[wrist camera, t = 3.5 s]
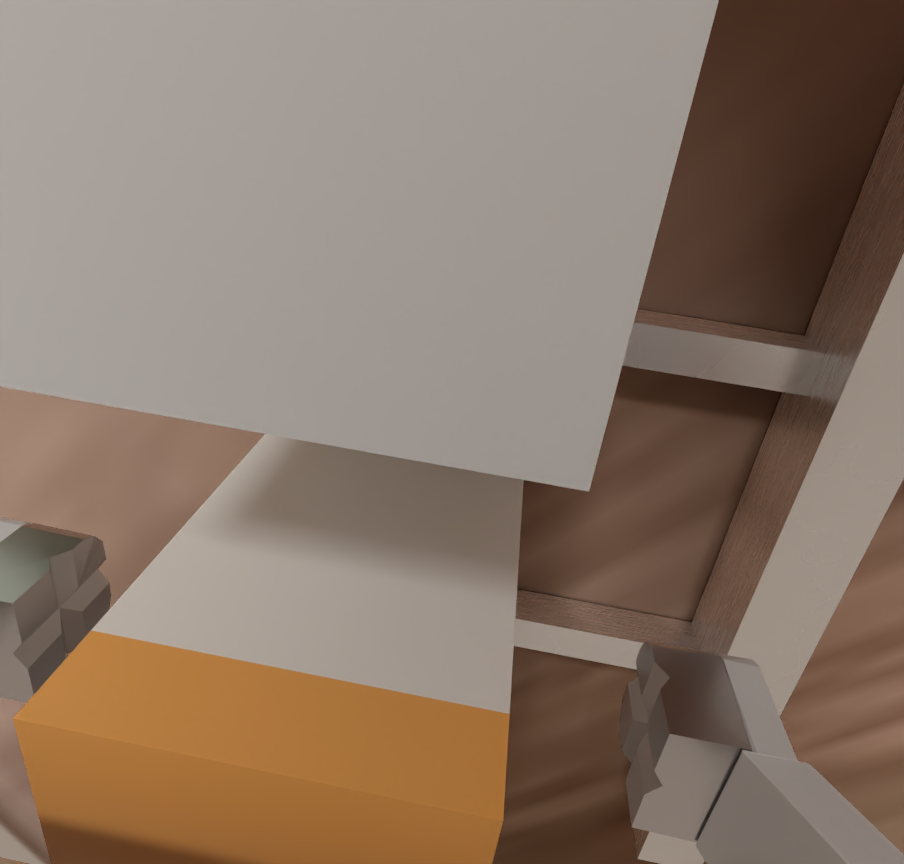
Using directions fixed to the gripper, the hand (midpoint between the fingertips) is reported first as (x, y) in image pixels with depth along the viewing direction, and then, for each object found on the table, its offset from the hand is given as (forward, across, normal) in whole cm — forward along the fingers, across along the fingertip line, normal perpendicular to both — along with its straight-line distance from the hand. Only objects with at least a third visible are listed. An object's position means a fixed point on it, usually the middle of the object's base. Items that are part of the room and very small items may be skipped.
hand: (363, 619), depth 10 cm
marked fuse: (+5, 0, 0) cm, 5 cm away
